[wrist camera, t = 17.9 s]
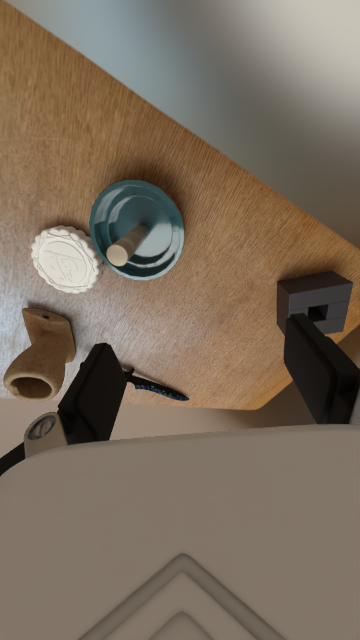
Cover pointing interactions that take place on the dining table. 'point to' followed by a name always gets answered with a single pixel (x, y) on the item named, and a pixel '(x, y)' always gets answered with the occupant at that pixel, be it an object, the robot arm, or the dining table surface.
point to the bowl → (128, 212)
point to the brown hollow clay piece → (41, 357)
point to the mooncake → (67, 259)
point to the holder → (315, 300)
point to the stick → (127, 245)
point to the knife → (152, 386)
